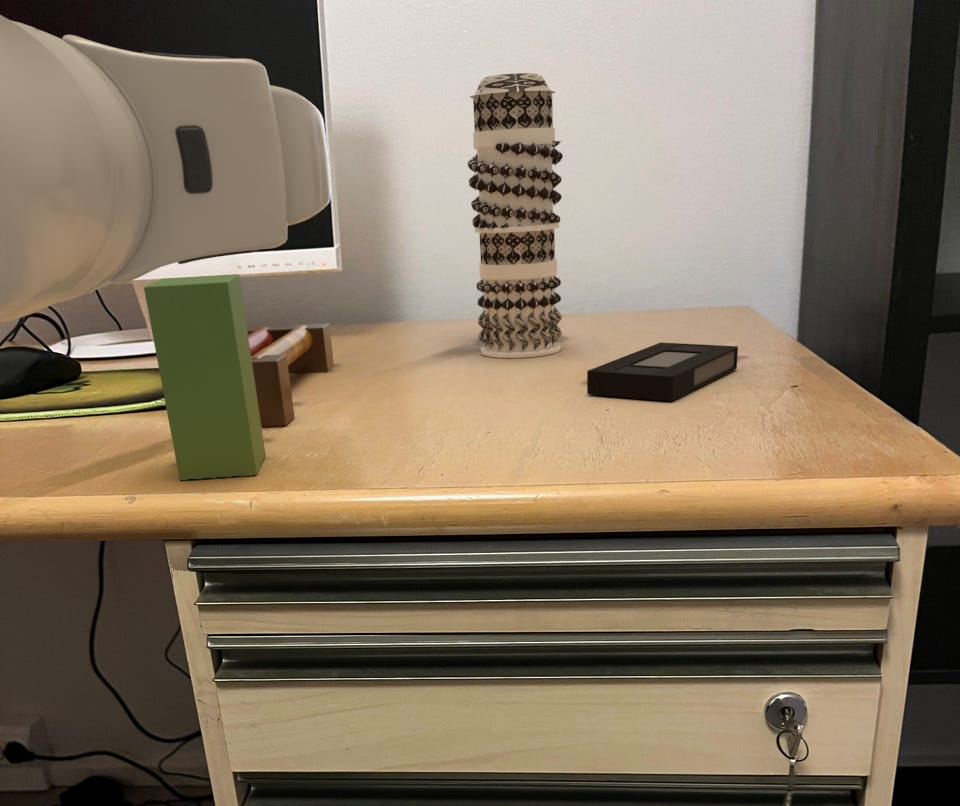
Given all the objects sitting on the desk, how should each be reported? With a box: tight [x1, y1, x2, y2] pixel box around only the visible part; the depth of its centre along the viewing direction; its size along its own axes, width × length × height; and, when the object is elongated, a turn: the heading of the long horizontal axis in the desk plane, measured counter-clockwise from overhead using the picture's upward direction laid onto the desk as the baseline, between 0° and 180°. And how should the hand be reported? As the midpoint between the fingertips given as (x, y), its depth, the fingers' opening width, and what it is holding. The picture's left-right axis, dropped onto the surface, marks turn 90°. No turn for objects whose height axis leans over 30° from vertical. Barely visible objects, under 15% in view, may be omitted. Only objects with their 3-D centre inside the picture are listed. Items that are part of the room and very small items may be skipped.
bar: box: [143, 273, 266, 481], centre depth 64 cm, size 5×5×12 cm
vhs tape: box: [586, 342, 739, 402], centre depth 84 cm, size 8×14×2 cm, turn 146°
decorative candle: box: [467, 72, 564, 359], centre depth 97 cm, size 9×9×25 cm
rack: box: [247, 322, 335, 428], centre depth 85 cm, size 8×20×5 cm, turn 177°
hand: (131, 171), depth 49 cm, fingers open, 8 cm apart
